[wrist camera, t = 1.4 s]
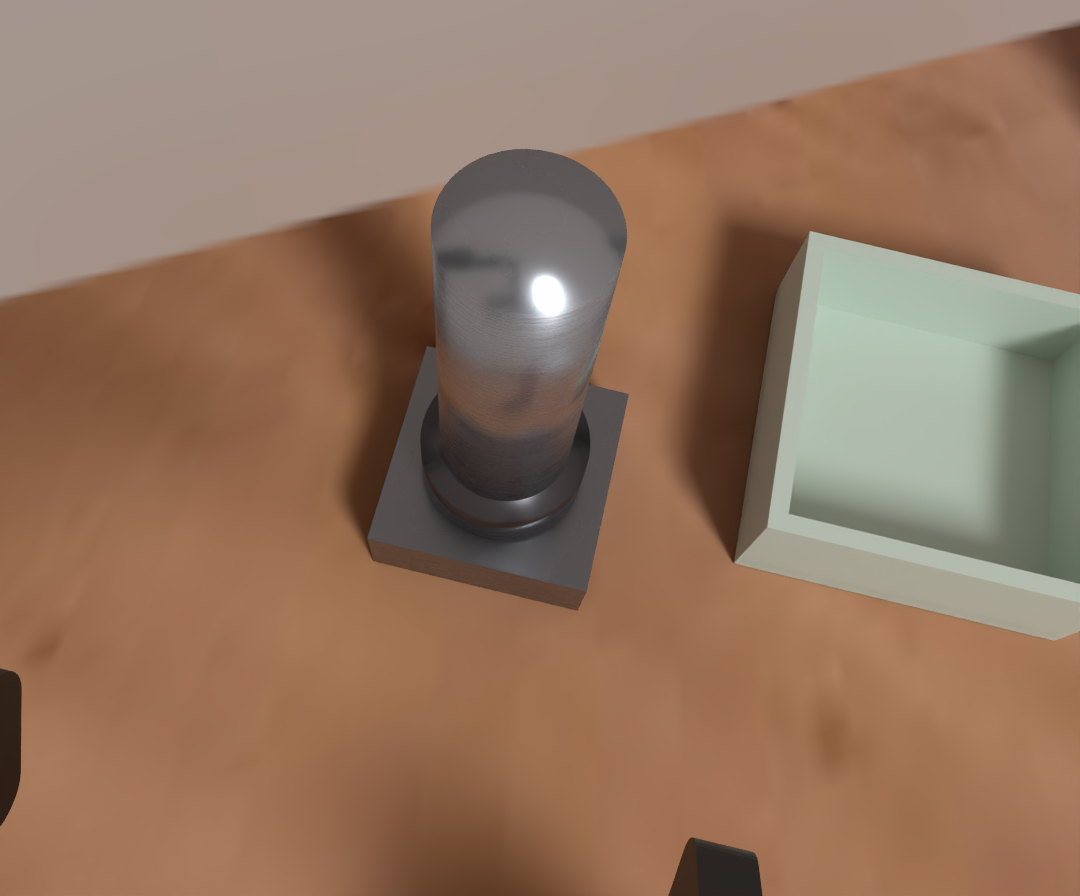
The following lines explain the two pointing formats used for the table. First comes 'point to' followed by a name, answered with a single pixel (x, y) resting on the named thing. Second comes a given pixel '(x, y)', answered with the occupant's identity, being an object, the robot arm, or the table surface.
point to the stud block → (502, 565)
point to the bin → (920, 438)
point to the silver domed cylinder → (517, 337)
